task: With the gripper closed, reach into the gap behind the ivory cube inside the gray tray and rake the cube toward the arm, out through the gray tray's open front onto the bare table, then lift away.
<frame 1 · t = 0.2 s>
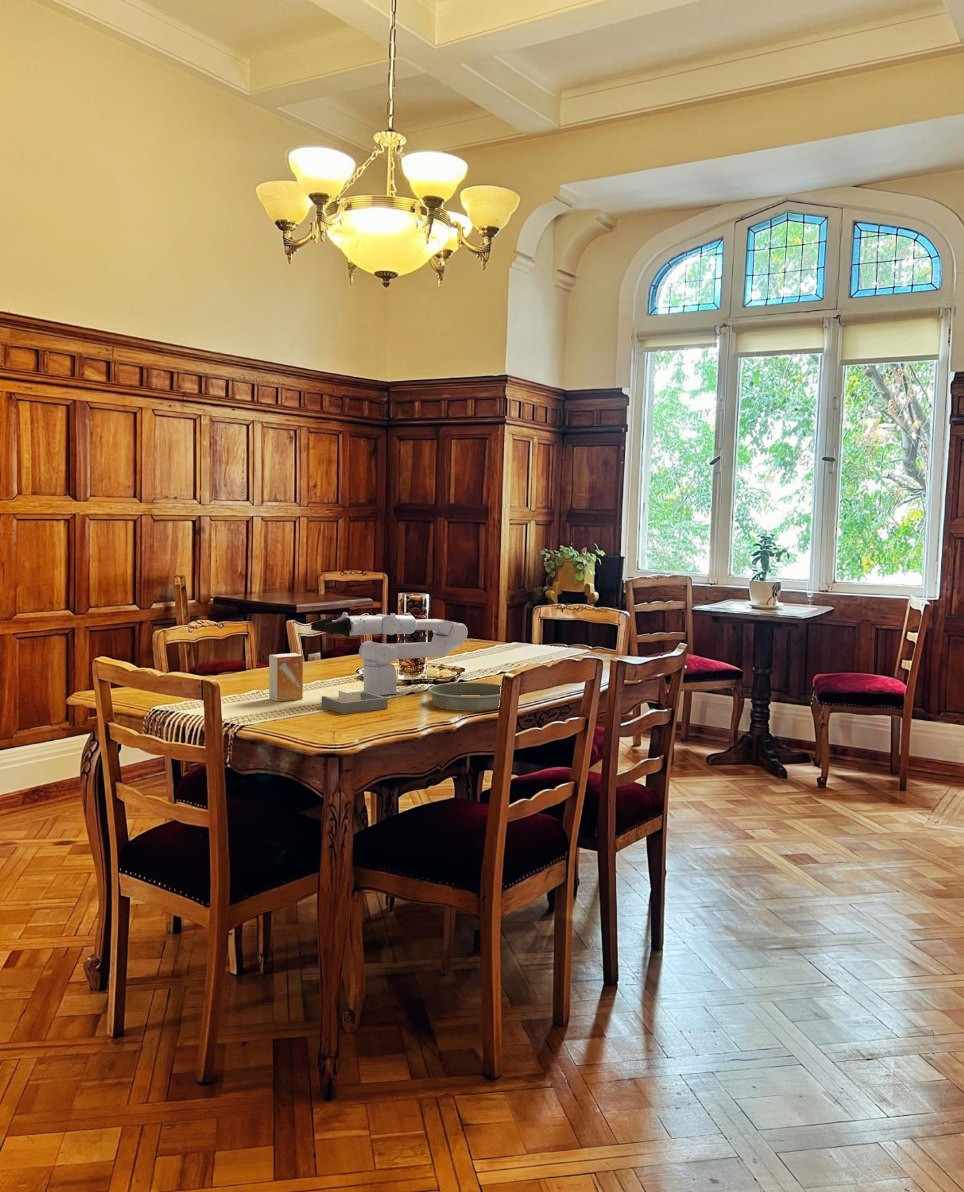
hand: (318, 627, 290), 21 cm above the table, tool horizontal, fingers open, 7 cm apart
cake pan: (470, 704, 290), on the table
ivory cube: (349, 706, 284), on the table
small box: (286, 699, 294), on the table
gray tray: (354, 707, 282), on the table
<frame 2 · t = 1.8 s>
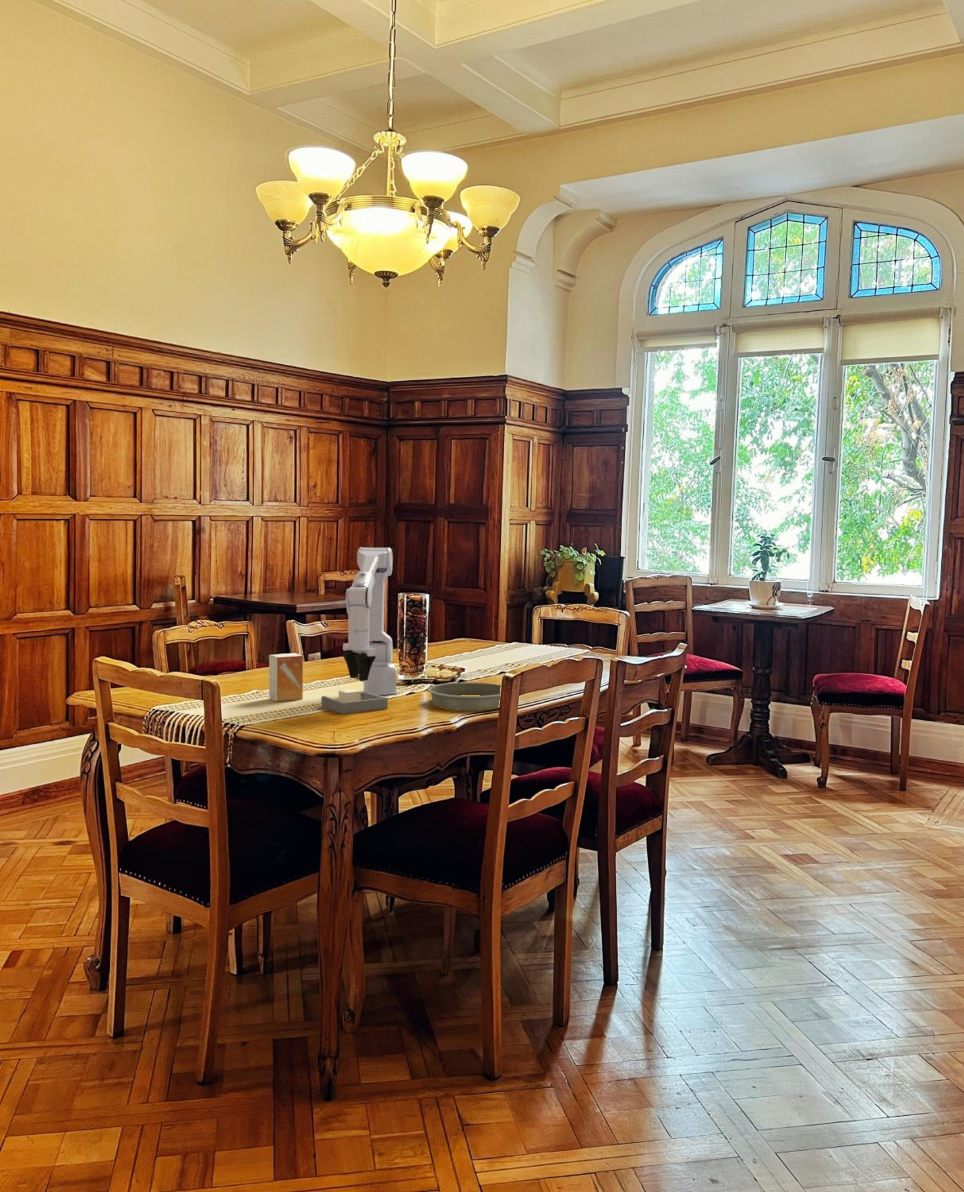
hand: (358, 679, 279), 8 cm above the table, tool pointing down, fingers open, 5 cm apart
nothing on the table moved.
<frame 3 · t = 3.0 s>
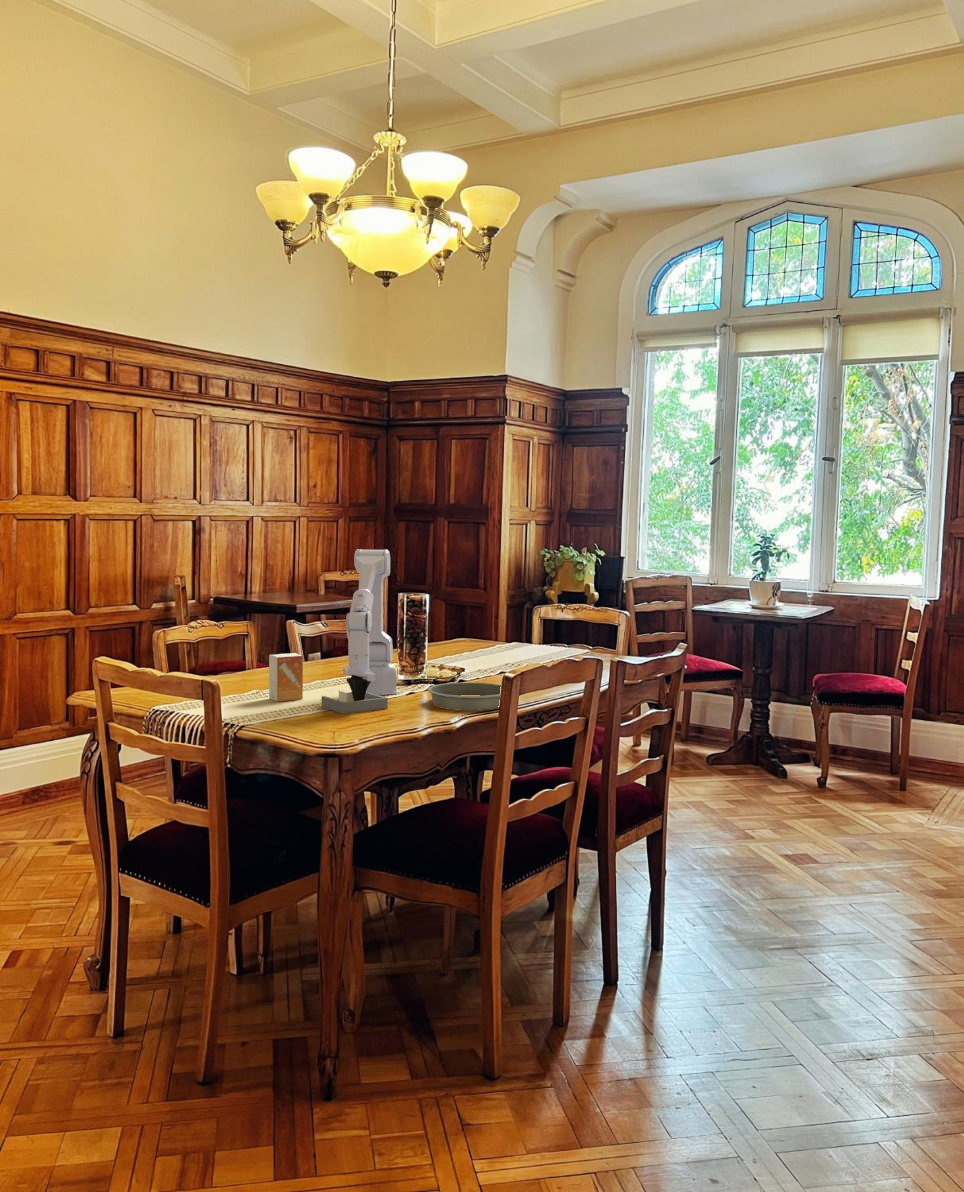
hand: (358, 703, 279), 2 cm above the table, tool pointing down, fingers closed
nothing on the table moved.
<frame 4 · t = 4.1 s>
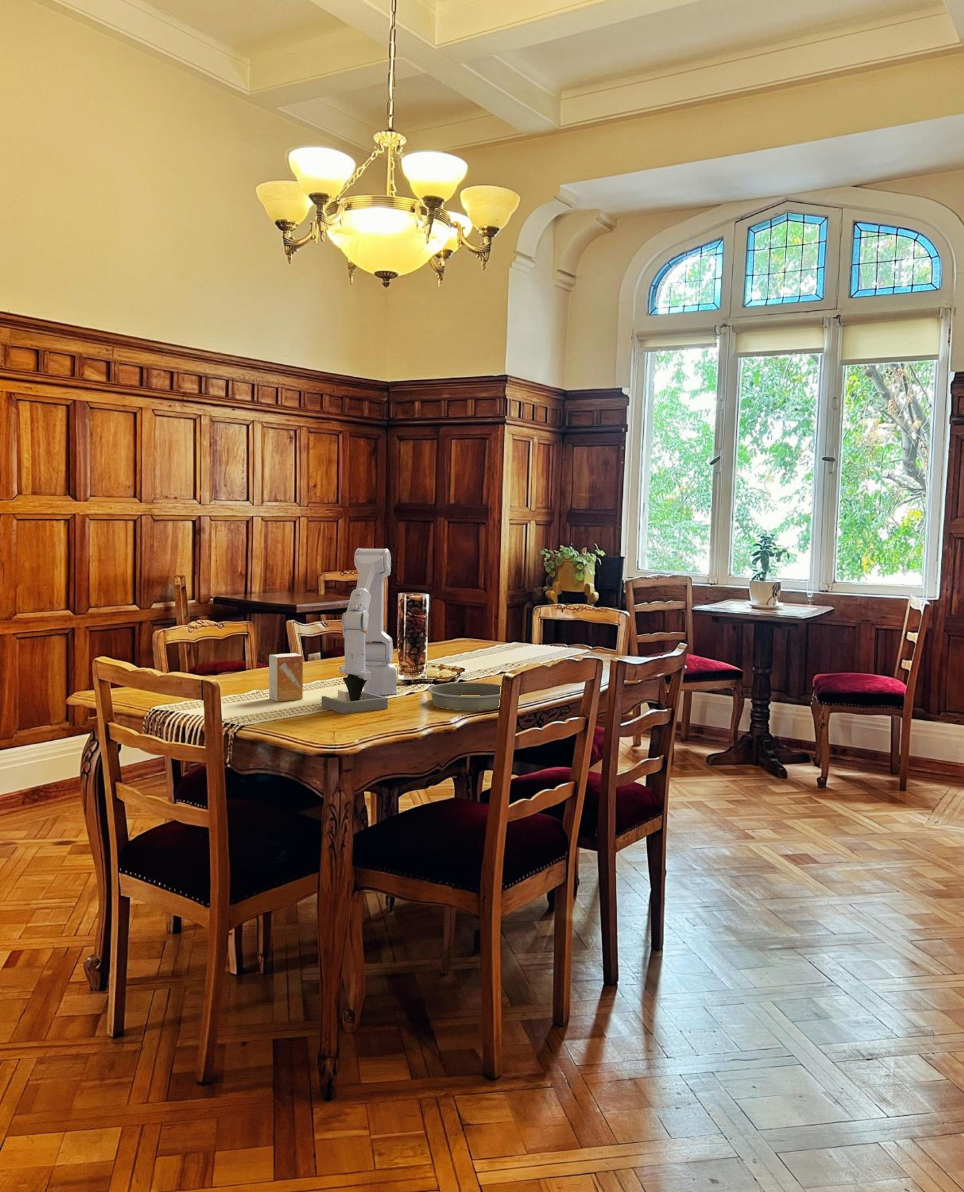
hand: (355, 702, 281), 2 cm above the table, tool pointing down, fingers closed
ivory cube: (348, 705, 284), on the table, touching gripper
everything else where it was.
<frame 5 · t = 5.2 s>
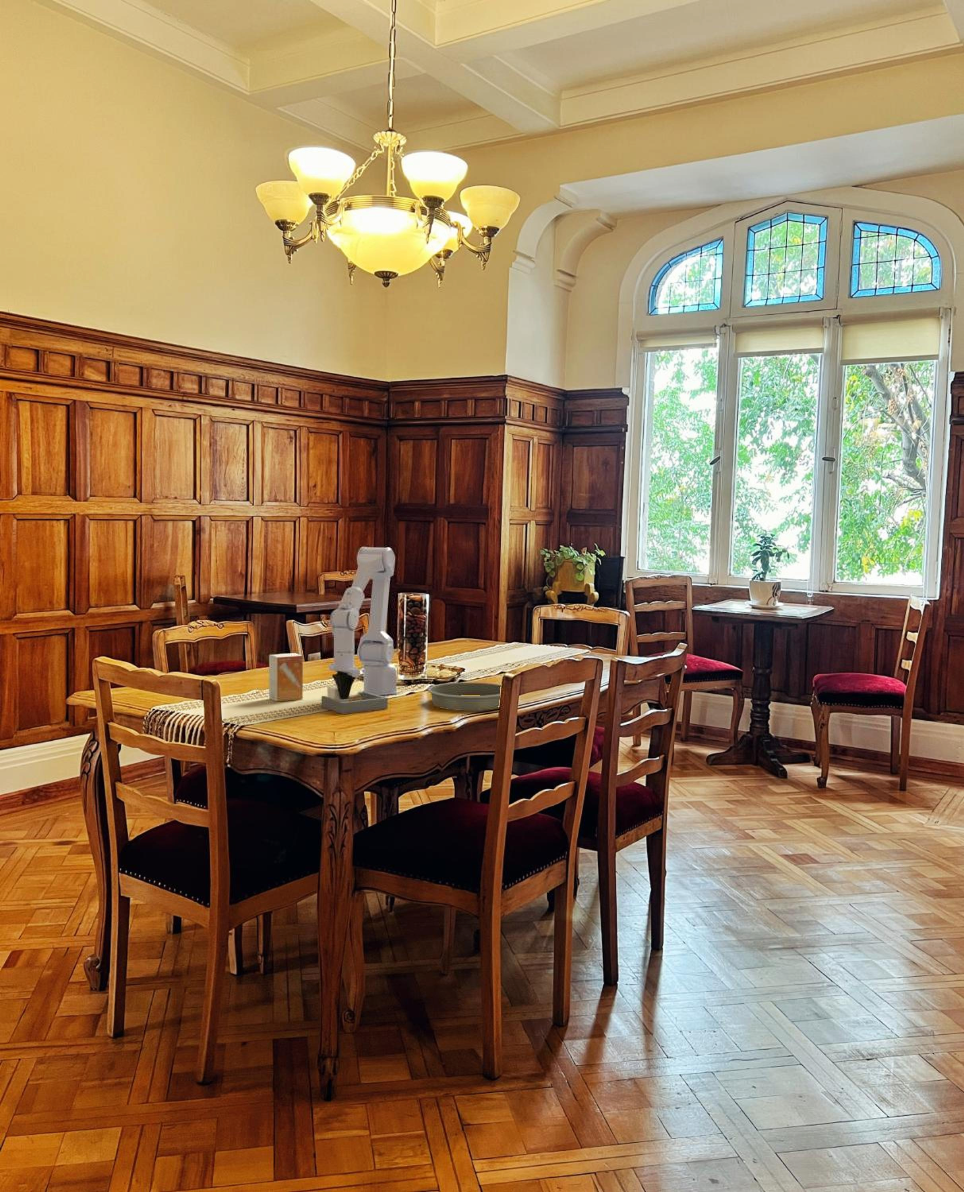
hand: (344, 698, 286), 2 cm above the table, tool pointing down, fingers closed
ivory cube: (338, 702, 289), on the table, touching gripper
everything else where it was.
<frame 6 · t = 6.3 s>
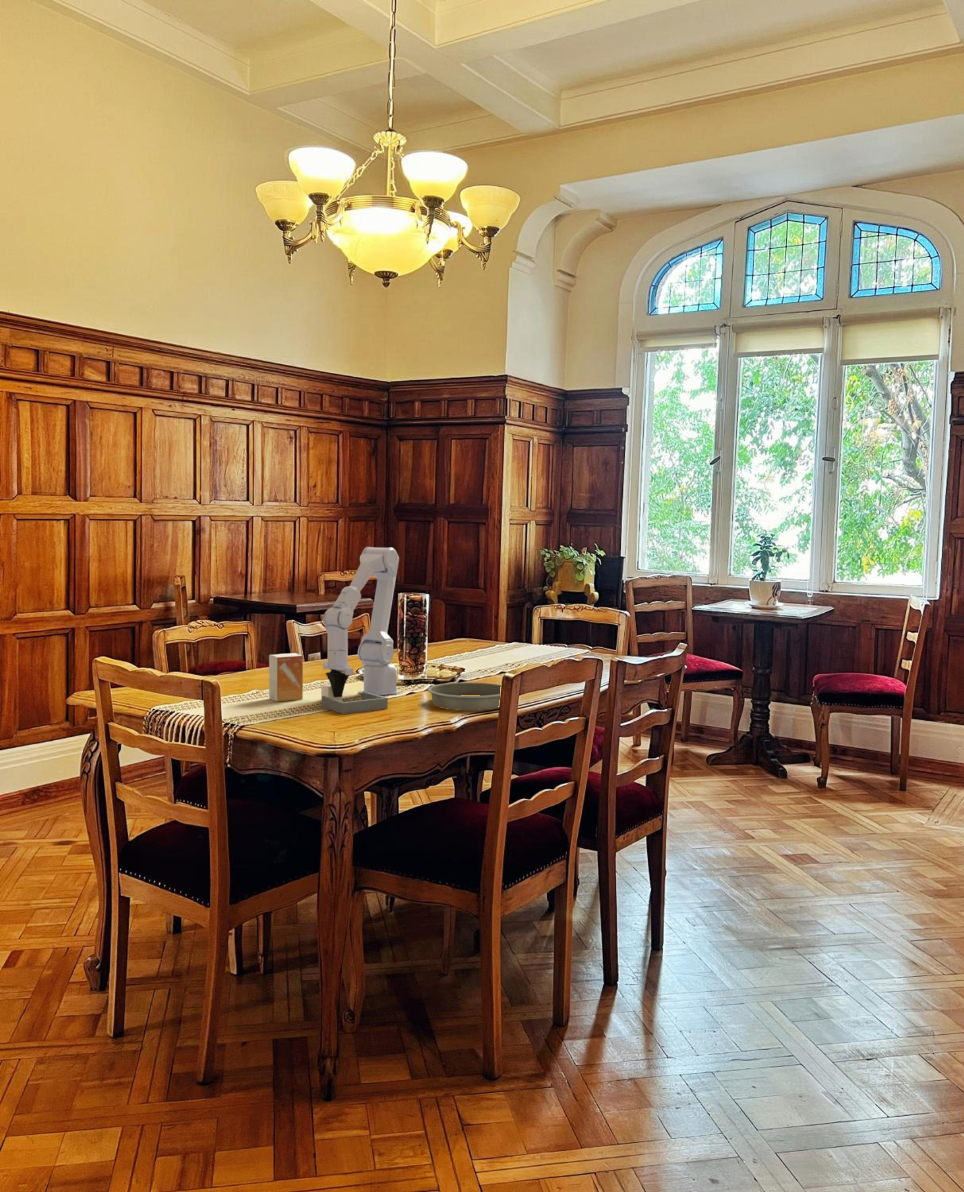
hand: (337, 696, 289), 2 cm above the table, tool pointing down, fingers closed
ivory cube: (331, 700, 292), on the table, touching gripper
everything else where it was.
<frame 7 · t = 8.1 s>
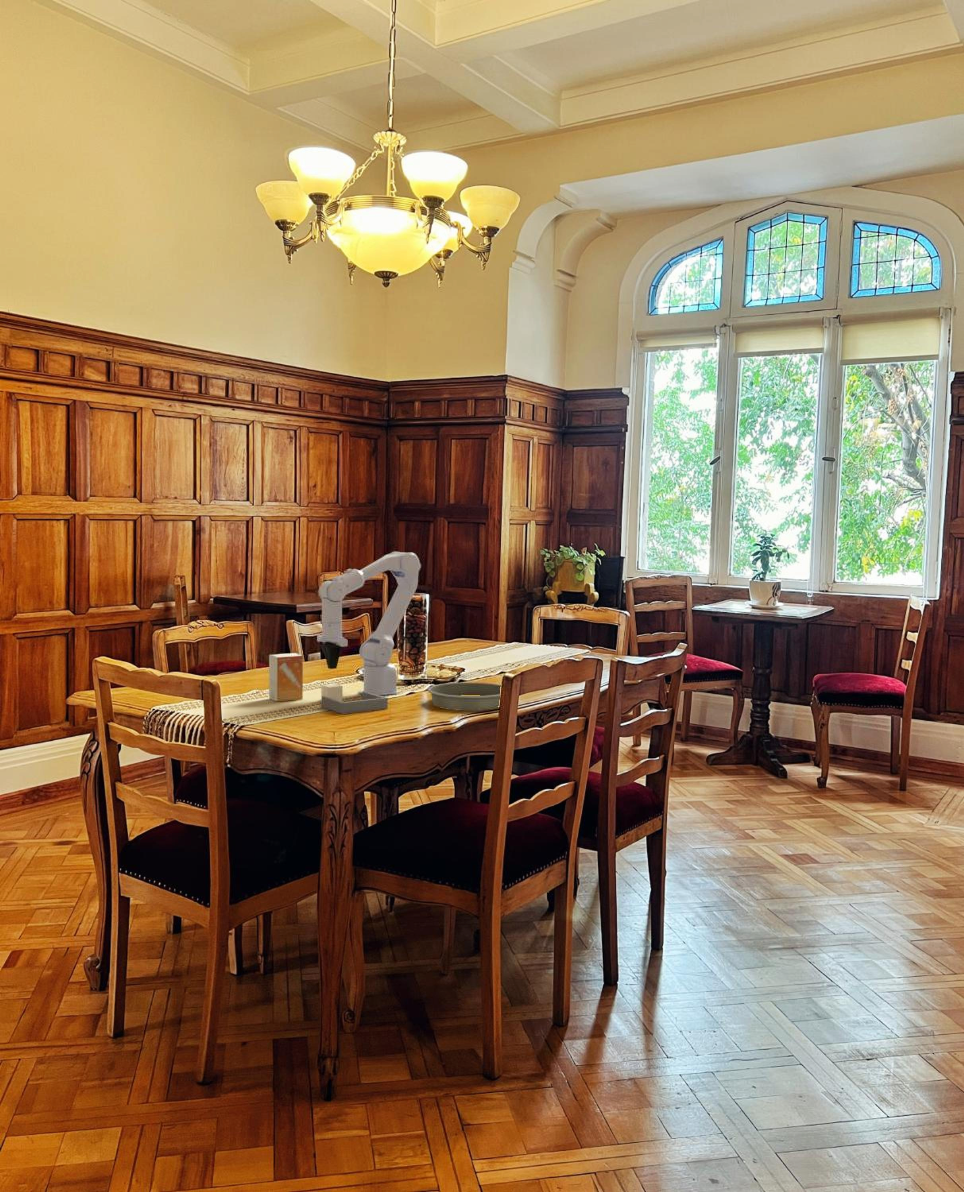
hand: (332, 668, 295), 9 cm above the table, tool pointing down, fingers closed
ivory cube: (331, 700, 292), on the table
everything else where it was.
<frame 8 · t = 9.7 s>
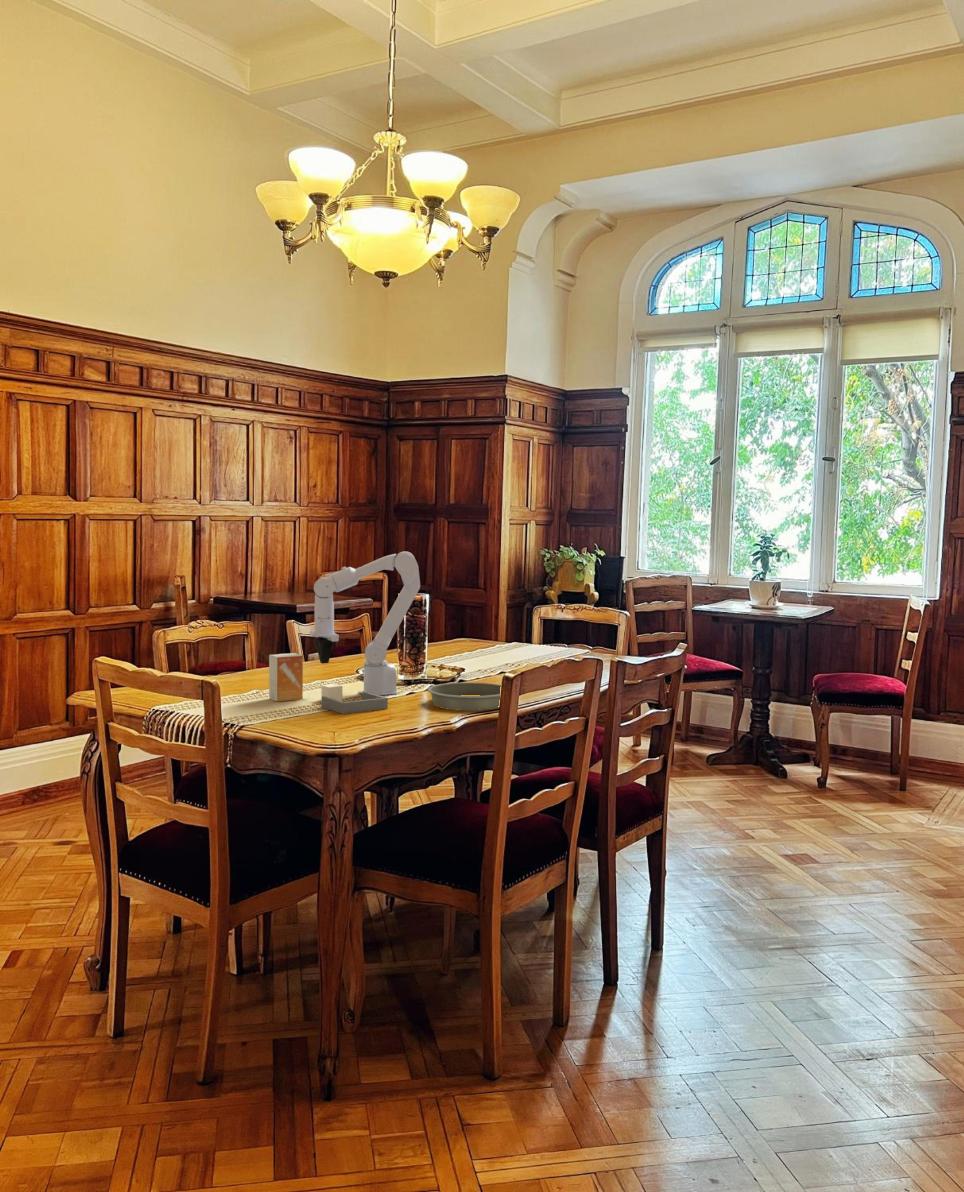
hand: (324, 663, 302), 9 cm above the table, tool pointing down, fingers closed
nothing on the table moved.
at the end: ivory cube inside the target area (0.4 cm from its centre), on the table; ivory cube tilted 0° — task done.
